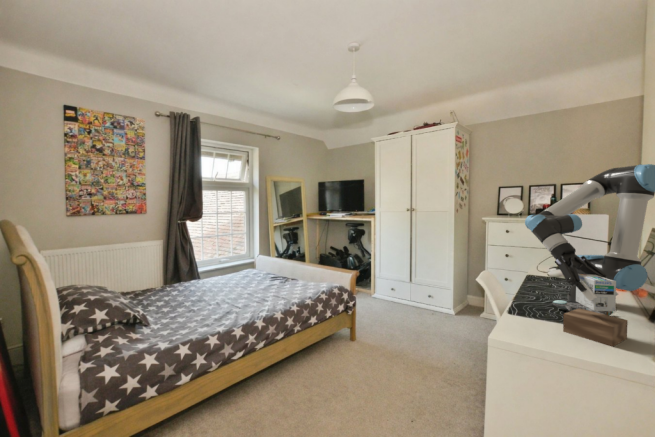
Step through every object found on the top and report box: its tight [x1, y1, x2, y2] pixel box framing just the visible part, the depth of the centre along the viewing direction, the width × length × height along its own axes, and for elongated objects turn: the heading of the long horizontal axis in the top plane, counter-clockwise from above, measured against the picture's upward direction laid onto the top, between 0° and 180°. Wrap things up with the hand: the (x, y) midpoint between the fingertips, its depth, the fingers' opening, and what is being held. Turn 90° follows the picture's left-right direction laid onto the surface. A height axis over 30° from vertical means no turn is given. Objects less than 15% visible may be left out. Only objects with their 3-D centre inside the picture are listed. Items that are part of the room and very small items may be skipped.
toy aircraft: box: [552, 299, 614, 316], centre depth 129 cm, size 16×20×5 cm
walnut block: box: [562, 308, 628, 348], centre depth 108 cm, size 12×14×7 cm
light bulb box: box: [576, 274, 617, 313], centre depth 108 cm, size 11×7×11 cm, turn 169°
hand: (604, 297), depth 105 cm, fingers closed on light bulb box, 10 cm apart
